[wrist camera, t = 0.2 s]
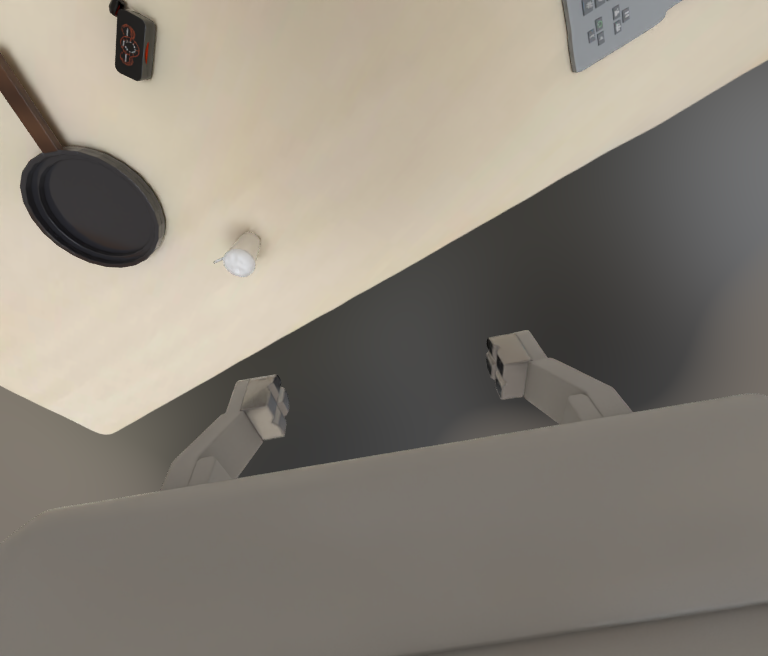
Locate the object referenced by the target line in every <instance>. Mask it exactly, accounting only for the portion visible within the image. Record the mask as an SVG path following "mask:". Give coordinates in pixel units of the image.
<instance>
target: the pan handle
mask: <svg viewBox="0 0 768 656" xmlns="http://www.w3.org/2000/svg"><path fill="white" fill-rule="evenodd" d="M0 91H1V93H2V94H3V96H4V97H5V99H6V100H7V101H8V103H9V104H10V106H11V107H12V109H13V110H14V112H15V113H16V114H17V116H18V117H19V119H20V120H21V122H22V123H23V125H24V126H25V127H26V129H27V130H28V132H29V133H30V135H31V136H32V138H33V139H34V140H35V142H36V143H37V145H38V146H39V148H40V149H41V151H42V152H43V153H44V154H45V153H50V152H51V151H52V152H55V151H57V150H58V149H61V148H63V147H62V146H61V144H60V143H59V141H58V140H57V138H56V137H55V135H54V134H53V132H52V131H51V129H50V128H49V126H48V125H47V123H46V121H45V120H44V118H43V117H42V115H41V114H40V112H39V111H38V109H37V108H36V106H35V105H34V103H33V102H32V100H31V99H30V97H29V96H28V94H27V93H26V91H25V89H24V88H23V86H22V85H21V83H20V82H19V80H18V79H17V77H16V76H15V74H14V73H13V71H12V70H11V68H10V67H9V65H8V64H7V62H6V61H5V59H4V57H3V56H2V54H1V53H0ZM61 155H62V154H61ZM56 156H60V155H56ZM51 157H55V156H51Z"/></svg>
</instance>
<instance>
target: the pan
mask: <svg viewBox="0 0 768 656" xmlns="http://www.w3.org/2000/svg"><path fill="white" fill-rule="evenodd" d="M61 154H62V155H61ZM56 155H60V156H56ZM51 156H55V157H51ZM20 189H21V193H22V198H23V202H24V205H25V207H26V209H27V211H28V212H29V214H30V216H31V218H32V220H33V221H34V222H35V223H36V225H37V226H38V227H39V228H40V230H41V231H42V232H43V233H44V234H45V235H46V236H47V237H48V238H50V239H51V240H52V241H53V242H54V243H55V244H56V245H58V246H59V247H61V248H62V249H64V250H65V251H67V252H69V253H70V254H72V255H74V256H76V257H78V258H80V259H82V260H85V261H87V262H89V263H93V264H97V265H101V266H105V267H119V268H122V267H128V266H133V265H137V264H139V263H140V262H142V261H144V260H146V259H147V258H148V257H149V256H150V255H151V254H152V253H153V252H154V251H155V250H156V249H157V248H158V247H159V246H160V244H161V242H162V239H163V237H164V234H165V219H164V216H163V212H162V208H161V205H160V203H159V202H158V200H157V198H156V196H155V194H154V193H153V191H152V190H151V189H150V188H149V186H148V185H147V184H146V183H145V182H144V180H143V179H142V178H141V177H140V176H139V175H138V174H137V173H135V172H134V171H133V170H132V169H130V168H129V167H128V166H127V165H126V164H124V163H122V162H120V161H119V160H117V159H115V158H113V157H111V156H110V155H108V154H106V153H102V152H99V151H96V150H93V149H90V148H86V147H75V146H66V147H63V148H61V149H58V150H57V151H55V152H52V151H51V152H50V153H45V154H44V153H41V154H39V155H38V156H36V157H34V158H33V159H31V160H30V161H29V162H28V164H27V165H26V167H25V168H24V170H23V172H22V176H21V183H20Z"/></svg>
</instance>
